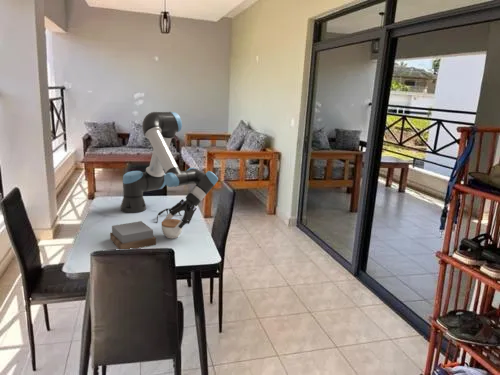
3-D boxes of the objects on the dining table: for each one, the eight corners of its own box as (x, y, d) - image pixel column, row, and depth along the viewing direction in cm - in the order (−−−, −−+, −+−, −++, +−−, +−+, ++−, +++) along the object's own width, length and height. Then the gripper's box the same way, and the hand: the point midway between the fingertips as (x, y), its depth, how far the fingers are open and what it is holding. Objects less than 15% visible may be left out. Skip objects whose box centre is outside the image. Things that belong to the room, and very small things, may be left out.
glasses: (191, 217, 236) (191, 209, 235) (183, 226, 219) (183, 217, 218) (164, 215, 238) (164, 207, 237) (154, 223, 220) (154, 215, 220)
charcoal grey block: (112, 233, 193) (111, 225, 192) (141, 228, 202) (141, 221, 201) (122, 243, 181) (122, 235, 180) (153, 237, 190) (153, 230, 189)
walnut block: (110, 240, 195) (110, 232, 194) (143, 234, 204) (143, 227, 203) (121, 252, 181) (120, 244, 180) (155, 245, 191) (155, 238, 190)
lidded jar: (162, 240, 196) (162, 223, 194) (160, 233, 206) (160, 216, 204) (183, 239, 199) (183, 222, 197) (181, 232, 209) (181, 215, 207)
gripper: (211, 207, 197) (184, 240, 192) (189, 195, 217) (163, 224, 212) (202, 198, 193) (174, 231, 188) (180, 186, 213) (154, 216, 208)
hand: (168, 228), depth 200 cm, fingers open, 13 cm apart
